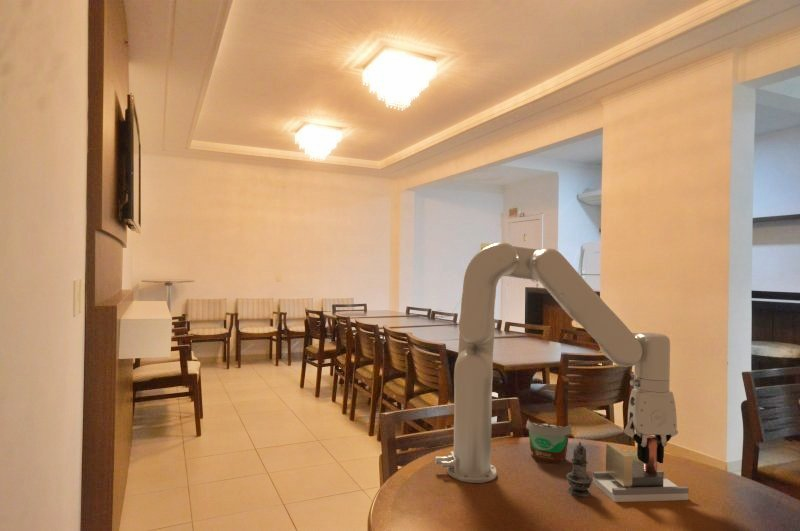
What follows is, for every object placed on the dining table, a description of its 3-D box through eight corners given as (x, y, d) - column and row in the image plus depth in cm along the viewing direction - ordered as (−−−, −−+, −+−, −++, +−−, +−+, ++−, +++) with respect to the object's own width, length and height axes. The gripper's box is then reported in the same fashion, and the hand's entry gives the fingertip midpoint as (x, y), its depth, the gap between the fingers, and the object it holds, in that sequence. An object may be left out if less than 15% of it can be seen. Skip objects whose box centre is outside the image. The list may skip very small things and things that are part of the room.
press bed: (614, 501, 111) (614, 490, 111) (592, 482, 120) (593, 471, 120) (688, 499, 112) (688, 488, 112) (661, 480, 122) (661, 470, 122)
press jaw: (623, 491, 112) (624, 443, 112) (605, 476, 120) (606, 432, 120) (666, 490, 113) (667, 443, 113) (645, 475, 121) (646, 431, 121)
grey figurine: (591, 489, 117) (592, 439, 117) (593, 500, 111) (594, 447, 111) (566, 485, 119) (566, 436, 119) (565, 495, 113) (566, 444, 113)
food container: (522, 460, 133) (523, 424, 133) (525, 453, 139) (526, 418, 139) (570, 468, 129) (570, 431, 129) (571, 460, 134) (571, 424, 134)
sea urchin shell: (660, 470, 124) (638, 448, 124) (638, 492, 124) (616, 469, 124) (643, 456, 133) (622, 435, 133) (622, 476, 133) (602, 455, 133)
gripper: (628, 389, 112) (626, 468, 112) (694, 388, 114) (693, 467, 114) (611, 381, 120) (609, 456, 120) (673, 381, 121) (672, 454, 121)
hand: (650, 460), depth 117 cm, fingers closed on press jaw, 3 cm apart
